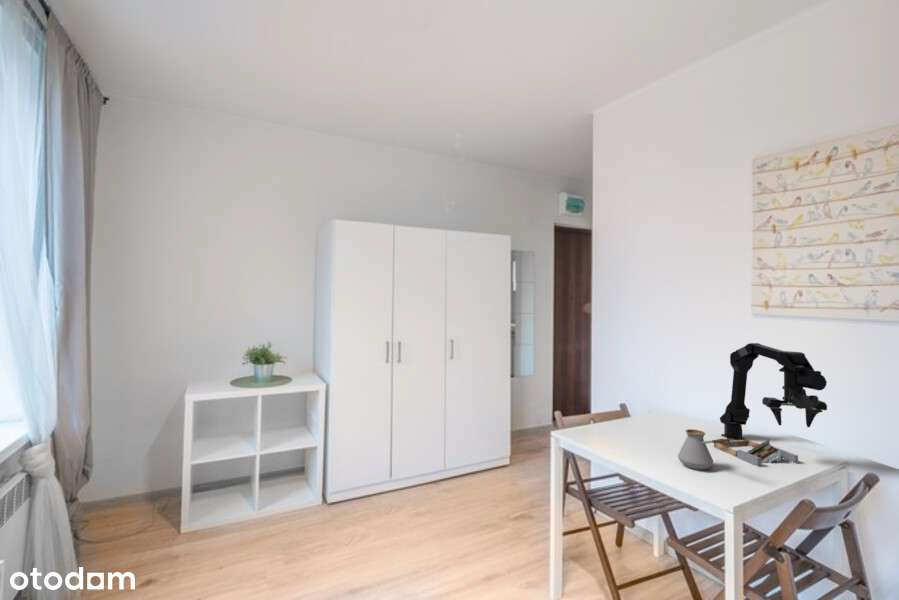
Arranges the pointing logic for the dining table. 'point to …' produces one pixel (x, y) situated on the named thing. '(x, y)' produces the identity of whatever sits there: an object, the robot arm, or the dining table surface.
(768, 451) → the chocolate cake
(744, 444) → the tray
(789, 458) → the bay
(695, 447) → the coffee pot
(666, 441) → the dining table surface
